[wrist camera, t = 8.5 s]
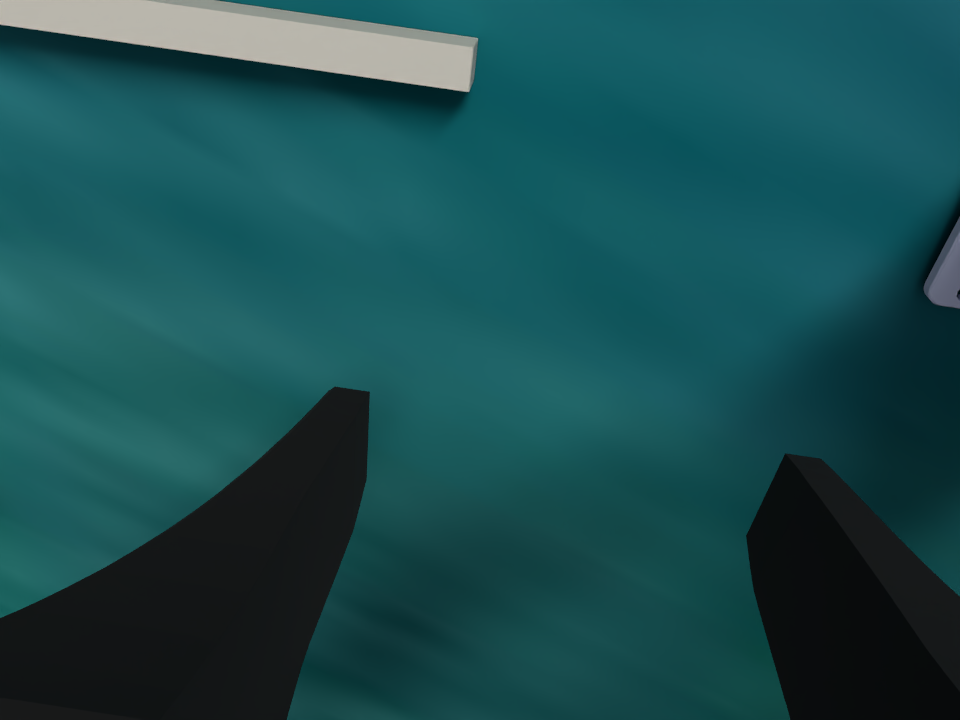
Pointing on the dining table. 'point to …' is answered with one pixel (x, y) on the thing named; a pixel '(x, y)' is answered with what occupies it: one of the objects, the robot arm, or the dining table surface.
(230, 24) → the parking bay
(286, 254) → the dining table surface
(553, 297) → the dining table surface
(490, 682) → the dining table surface
